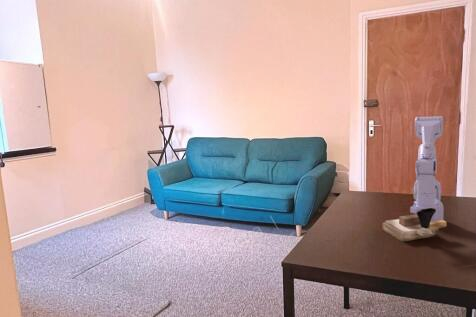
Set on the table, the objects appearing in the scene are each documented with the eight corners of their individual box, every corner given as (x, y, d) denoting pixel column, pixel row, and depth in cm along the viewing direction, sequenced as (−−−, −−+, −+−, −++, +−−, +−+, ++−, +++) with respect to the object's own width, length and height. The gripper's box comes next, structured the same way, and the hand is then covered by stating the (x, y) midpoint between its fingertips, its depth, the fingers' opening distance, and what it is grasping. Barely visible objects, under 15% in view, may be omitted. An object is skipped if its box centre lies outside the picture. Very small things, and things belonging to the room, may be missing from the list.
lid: (417, 219, 138) (417, 209, 138) (444, 232, 124) (444, 222, 123) (385, 223, 137) (385, 213, 136) (409, 237, 122) (409, 227, 121)
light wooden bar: (442, 224, 128) (442, 219, 127) (446, 226, 126) (446, 221, 125) (425, 227, 126) (426, 222, 126) (429, 229, 124) (430, 224, 124)
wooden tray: (413, 225, 140) (413, 218, 139) (435, 236, 128) (435, 228, 128) (382, 230, 137) (382, 223, 137) (402, 241, 126) (402, 234, 125)
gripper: (426, 186, 130) (426, 219, 132) (402, 193, 123) (402, 229, 125) (445, 189, 123) (444, 225, 126) (421, 197, 117) (420, 235, 119)
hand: (424, 227), depth 125 cm, fingers closed
